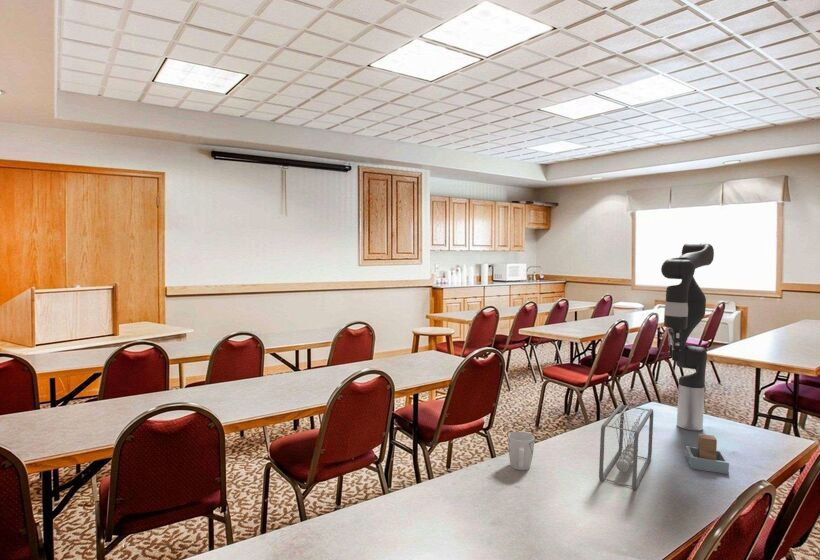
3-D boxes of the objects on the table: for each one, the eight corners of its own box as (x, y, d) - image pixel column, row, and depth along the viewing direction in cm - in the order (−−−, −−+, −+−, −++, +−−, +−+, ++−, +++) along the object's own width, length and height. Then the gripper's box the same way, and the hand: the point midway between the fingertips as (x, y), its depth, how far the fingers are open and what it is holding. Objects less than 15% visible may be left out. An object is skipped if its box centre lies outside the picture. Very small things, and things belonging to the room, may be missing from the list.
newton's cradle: (619, 451, 174) (621, 401, 173) (651, 458, 168) (653, 407, 167) (598, 482, 149) (600, 425, 148) (635, 492, 143) (638, 432, 143)
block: (697, 459, 166) (698, 433, 166) (712, 461, 165) (713, 435, 164) (699, 464, 162) (701, 438, 162) (715, 467, 160) (716, 440, 160)
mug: (534, 477, 152) (535, 445, 151) (506, 474, 153) (507, 443, 153) (533, 462, 163) (534, 432, 162) (507, 459, 165) (508, 430, 164)
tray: (685, 456, 171) (686, 446, 170) (720, 461, 167) (721, 450, 166) (690, 468, 161) (691, 457, 160) (728, 474, 157) (729, 463, 157)
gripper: (691, 317, 171) (688, 363, 171) (684, 313, 184) (682, 355, 185) (666, 315, 173) (664, 361, 174) (662, 311, 186) (660, 354, 187)
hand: (673, 358), depth 179 cm, fingers open, 8 cm apart
